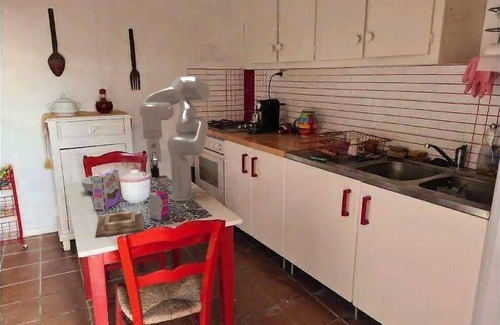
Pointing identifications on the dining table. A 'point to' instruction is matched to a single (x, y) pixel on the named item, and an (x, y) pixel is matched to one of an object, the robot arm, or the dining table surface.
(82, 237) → the dining table surface
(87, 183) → the cereal bowl
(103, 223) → the walnut stand
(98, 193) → the candy box
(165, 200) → the supplement box
